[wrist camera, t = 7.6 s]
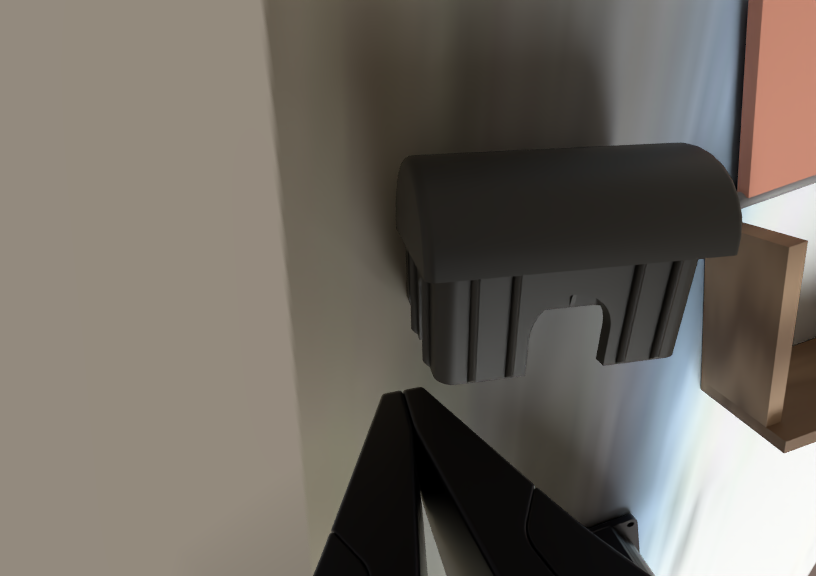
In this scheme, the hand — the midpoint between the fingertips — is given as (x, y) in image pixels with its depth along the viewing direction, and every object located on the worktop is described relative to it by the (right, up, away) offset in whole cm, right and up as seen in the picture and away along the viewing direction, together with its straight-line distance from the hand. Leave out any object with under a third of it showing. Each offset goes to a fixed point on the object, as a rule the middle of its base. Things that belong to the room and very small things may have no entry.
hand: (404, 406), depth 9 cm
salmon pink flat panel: (+19, +8, +11) cm, 23 cm away
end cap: (+4, +5, +10) cm, 12 cm away
